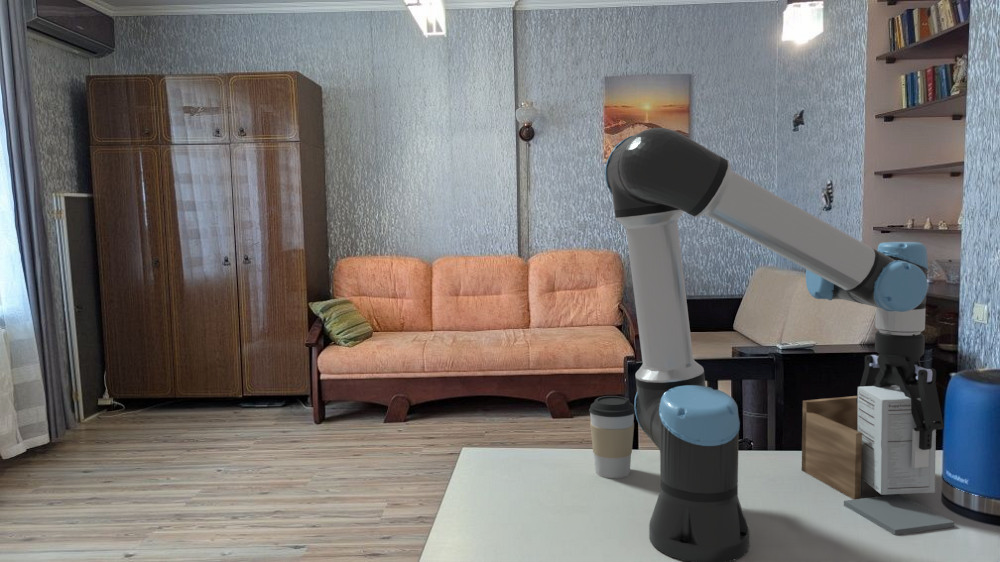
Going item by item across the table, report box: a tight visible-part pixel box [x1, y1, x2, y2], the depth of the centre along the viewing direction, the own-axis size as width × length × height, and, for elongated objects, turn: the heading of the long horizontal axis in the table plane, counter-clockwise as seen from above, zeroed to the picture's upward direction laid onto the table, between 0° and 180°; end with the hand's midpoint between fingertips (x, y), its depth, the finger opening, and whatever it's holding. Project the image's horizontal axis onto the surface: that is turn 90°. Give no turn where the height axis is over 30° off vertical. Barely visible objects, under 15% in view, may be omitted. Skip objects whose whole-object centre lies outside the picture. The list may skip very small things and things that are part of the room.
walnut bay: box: [801, 395, 862, 500], centre depth 137 cm, size 14×15×14 cm
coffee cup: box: [588, 395, 635, 479], centre depth 144 cm, size 9×9×15 cm
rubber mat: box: [843, 494, 955, 536], centre depth 122 cm, size 11×12×1 cm
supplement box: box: [857, 384, 937, 496], centre depth 128 cm, size 10×9×17 cm
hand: (895, 456), depth 128 cm, fingers closed on supplement box, 10 cm apart
